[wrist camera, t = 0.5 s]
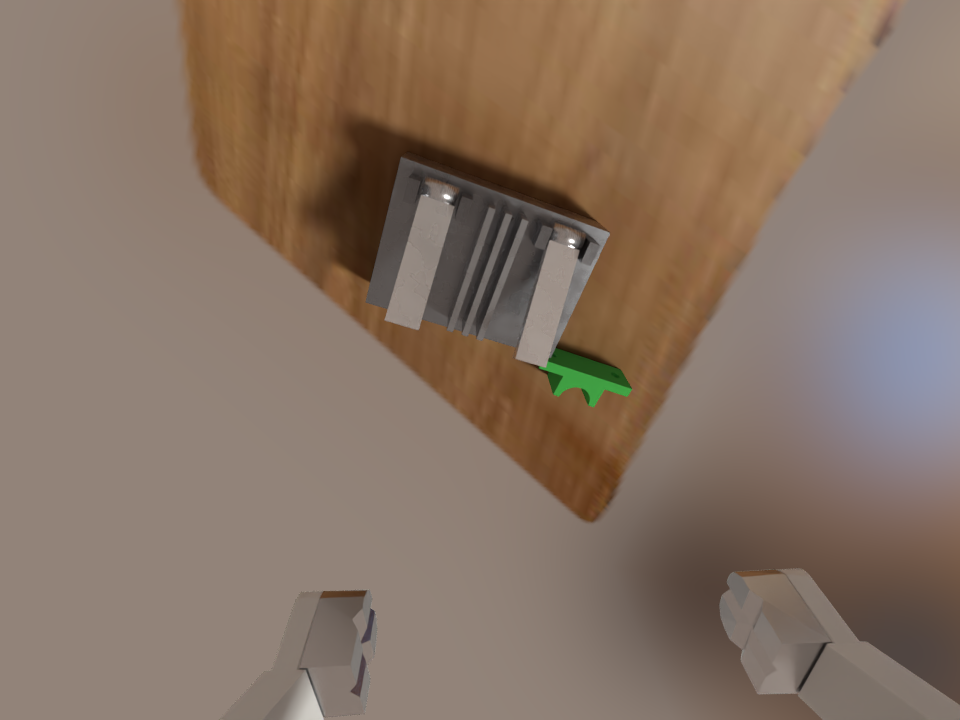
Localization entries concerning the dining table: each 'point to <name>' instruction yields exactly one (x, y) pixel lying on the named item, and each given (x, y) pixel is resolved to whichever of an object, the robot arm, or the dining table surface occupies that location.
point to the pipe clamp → (584, 376)
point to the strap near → (422, 253)
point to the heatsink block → (480, 252)
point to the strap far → (549, 295)
